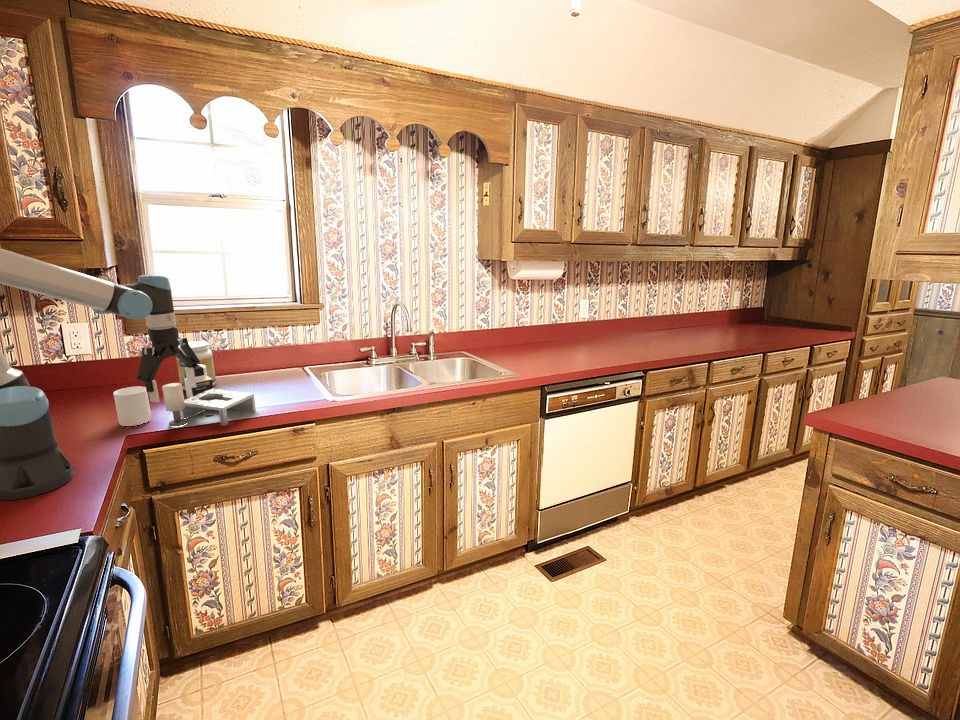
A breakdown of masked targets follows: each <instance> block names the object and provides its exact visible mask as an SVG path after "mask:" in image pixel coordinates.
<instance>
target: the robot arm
mask: <svg viewBox="0 0 960 720" xmlns="http://www.w3.org/2000/svg"><path fill="white" fill-rule="evenodd" d="M0 285H4V286H8V287H12V288H15V289H18V290H23V291H26V292H31V293H35V294H39V295H42V296H45V297H50V298H53V299H56V300H61V301H64V302H68V303H71V304H76V305H79V306H84V307H88V308H90V309H91V310H92V311H93V313H95V314H96V315H105V314H106V315H109V314H112V315H117V316H120V317H123V318H126V319H129V320H133V321H134V320H137V321H138V320H142V319H143V320H144V319H145V324H146V327H147V328H148V329H147V332H148V333H147V334H148V338H149V341H150V343H151V346H150V347H149V346H148V347H145V346H143V347H142V348H141V352H142V353H141V354H142V355H141V359H140V363H139V368H138V372H137V375H136V376H137V377H136V381H137V382H143V383H144V387H146V391H147V393H148V398H149V402H152V403H160V396H159V391H158V384H157V380H154V379H155V377H156V375H157V372H158V371H159V368H160V366H161V364H162V362H164V360H165V359H168V358H170V357H175V358H176V357H177V358H178V359H179V360H180V361H182V362H183V363H184V364H185V365H186V366H188V367H185V373H186V378H187V384H188V387H193V388H195V387H197V386H196V380H195V376H196V372H195V367H197V363H200V361H199V359H198V358H197V356H196V355H195V353H194V352H193V350H192V349H191V347H190V346H189V344H188V342H189V340H188V338H187V337H180V335H179V330H178V326H176V325H177V320H176V319H177V318H176V312H175V307H174V301H173V295H172V287H171V284H170V280H169V277H168V276H167V275H166V274H163V273H151V274H150V273H149V274H142V275H139V276H138V277H137V282H135V283H134V282H133V283H125V284H124V283H123V284H122V283H121V284H118V283H117V284H116V283H113V282H111V281H109V280H108V281H107V280H104V279H102V278H101V279H100V278H97V277H95V276H91V275H89V274H88V275H87V274H86V273H82V272H78V271H75V270H72V269H69V268H66V267H62V266H59V265H56V264H53V263H49V262H46V261H43V260H39V259H37V258H34V257H30V256H26V255H23V254H21V253H16V252H14V251H11V250H7V249H4V248H0ZM179 345H180V347H181V349H182V350H183V351H184V353H185V354H186V355H185V354H183V352H182V351H181V350H180V349H179V348H178V347H179ZM49 405H50V403H49V400H48V398H47V396H46V394H45V392H44V391H43V390H42V389H40V388H39V387H35V386H31V385H30V383H29V381H28V379H27V378H26V375H25V373H24V372H23V371H22V370H20V369H17V368H13V367H11V365H10V363H9V361H8V360H7V358H6V356H5V355H4V352H3V351H2V350H1V348H0V501H13V500H23V499H27V498H32V497H37V496H40V495H43V494H46V493H48V492H51V491H53V490H56V489H58V488H60V487H62V486H64V485H66V484H67V483H68V482H70V481H71V480H72V479H73V477H74V476H75V473H74V469H73V466H72V464H71V462H70V461H69V460H68V458H67V457H66V456H65V455H64V454H63V452H62V451H61V449H60V448H59V446H58V445H59V444H58V441H57V437H56V434H55V432H56V431H55V429H54V424H53V421H52V416H51V412H50V408H49Z"/></svg>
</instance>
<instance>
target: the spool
mask: <svg viewBox="0 0 960 720" xmlns="http://www.w3.org/2000/svg"><path fill="white" fill-rule="evenodd" d="M161 389H162V394H163V401H164V406H165V410H166V412H172V417H173V420H170V421H169V422H168V427H169V426H180V425H184V424H186V423H187V422H188V418H187V419H181V413H180V410H182V409H184V408H185V401H184V400H185V396H184V389H182V384H181V383H180V382H173V383H172V382H171V383H167V384H164V385H162V386H161Z"/></svg>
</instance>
